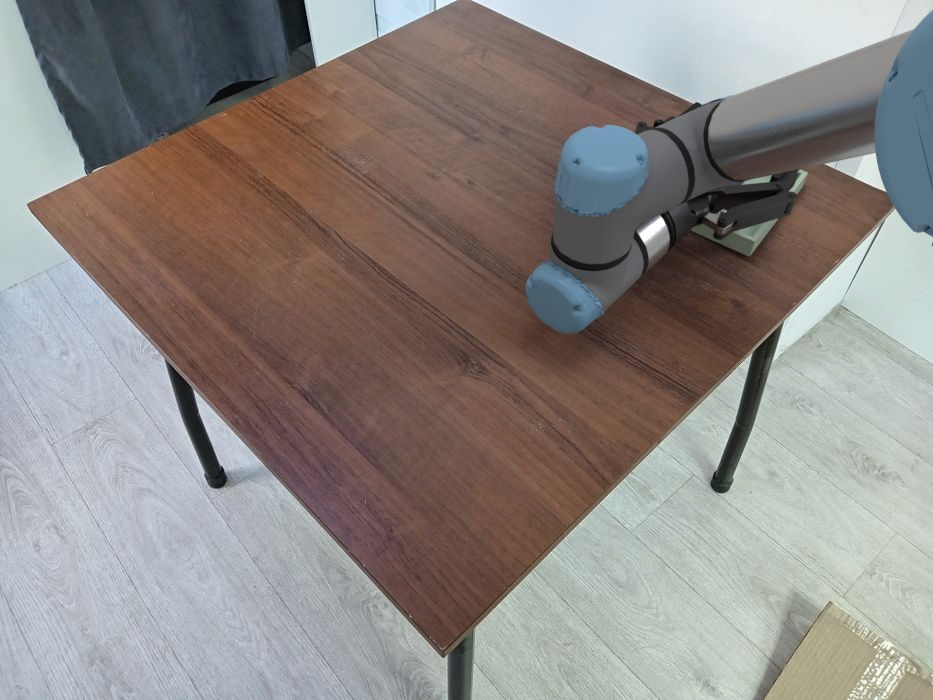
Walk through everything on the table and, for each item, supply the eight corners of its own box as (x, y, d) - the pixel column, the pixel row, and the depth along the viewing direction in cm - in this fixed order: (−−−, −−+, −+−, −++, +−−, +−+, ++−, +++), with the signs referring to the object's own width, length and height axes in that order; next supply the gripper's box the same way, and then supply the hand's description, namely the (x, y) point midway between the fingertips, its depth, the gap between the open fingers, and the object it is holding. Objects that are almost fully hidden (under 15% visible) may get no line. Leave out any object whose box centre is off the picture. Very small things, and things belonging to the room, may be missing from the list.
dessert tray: (802, 187, 97) (808, 172, 95) (749, 257, 89) (755, 241, 88) (691, 143, 103) (695, 128, 101) (633, 205, 95) (636, 189, 94)
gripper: (547, 202, 90) (652, 120, 100) (738, 310, 79) (835, 206, 89) (551, 149, 84) (662, 67, 94) (758, 257, 73) (860, 152, 83)
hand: (746, 134), depth 91 cm, fingers open, 13 cm apart
